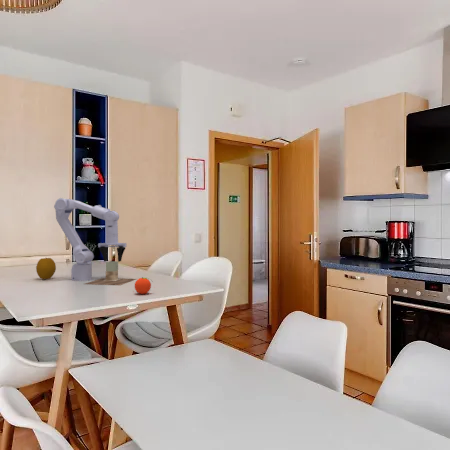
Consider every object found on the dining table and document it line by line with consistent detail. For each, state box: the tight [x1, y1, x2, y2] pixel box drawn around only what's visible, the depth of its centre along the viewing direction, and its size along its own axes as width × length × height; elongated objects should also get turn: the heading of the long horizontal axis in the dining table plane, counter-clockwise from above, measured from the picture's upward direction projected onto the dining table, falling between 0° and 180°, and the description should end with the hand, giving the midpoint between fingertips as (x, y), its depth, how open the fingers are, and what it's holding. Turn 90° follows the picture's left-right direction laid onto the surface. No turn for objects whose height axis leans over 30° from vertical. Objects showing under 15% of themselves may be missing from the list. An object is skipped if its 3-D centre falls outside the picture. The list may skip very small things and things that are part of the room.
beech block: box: [105, 269, 119, 280], centre depth 207 cm, size 4×4×4 cm
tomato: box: [134, 277, 154, 295], centre depth 175 cm, size 8×7×7 cm
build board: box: [84, 277, 137, 286], centre depth 202 cm, size 19×20×1 cm
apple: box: [35, 257, 57, 280], centre depth 216 cm, size 10×10×12 cm
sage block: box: [105, 260, 119, 272], centre depth 208 cm, size 4×4×4 cm
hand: (112, 261), depth 207 cm, fingers open, 7 cm apart
